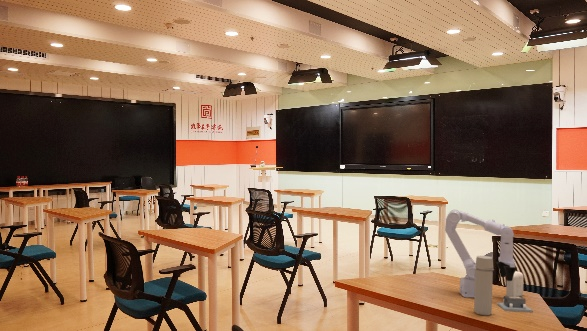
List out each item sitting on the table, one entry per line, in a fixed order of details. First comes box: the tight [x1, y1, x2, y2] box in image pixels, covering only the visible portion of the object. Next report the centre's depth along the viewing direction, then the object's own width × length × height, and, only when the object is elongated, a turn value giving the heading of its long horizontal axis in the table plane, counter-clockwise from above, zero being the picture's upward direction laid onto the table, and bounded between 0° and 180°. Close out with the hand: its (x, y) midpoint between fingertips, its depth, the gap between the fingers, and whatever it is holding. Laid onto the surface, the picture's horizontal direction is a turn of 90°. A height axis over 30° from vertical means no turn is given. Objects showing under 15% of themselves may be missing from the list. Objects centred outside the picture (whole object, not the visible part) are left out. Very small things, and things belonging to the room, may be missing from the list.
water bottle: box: [473, 255, 495, 317], centre depth 196 cm, size 9×8×25 cm
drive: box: [503, 295, 527, 308], centre depth 203 cm, size 8×4×4 cm, turn 86°
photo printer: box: [505, 270, 524, 297], centre depth 224 cm, size 10×4×12 cm, turn 123°
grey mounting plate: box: [496, 298, 533, 313], centre depth 203 cm, size 12×9×3 cm
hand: (506, 278), depth 216 cm, fingers open, 7 cm apart
